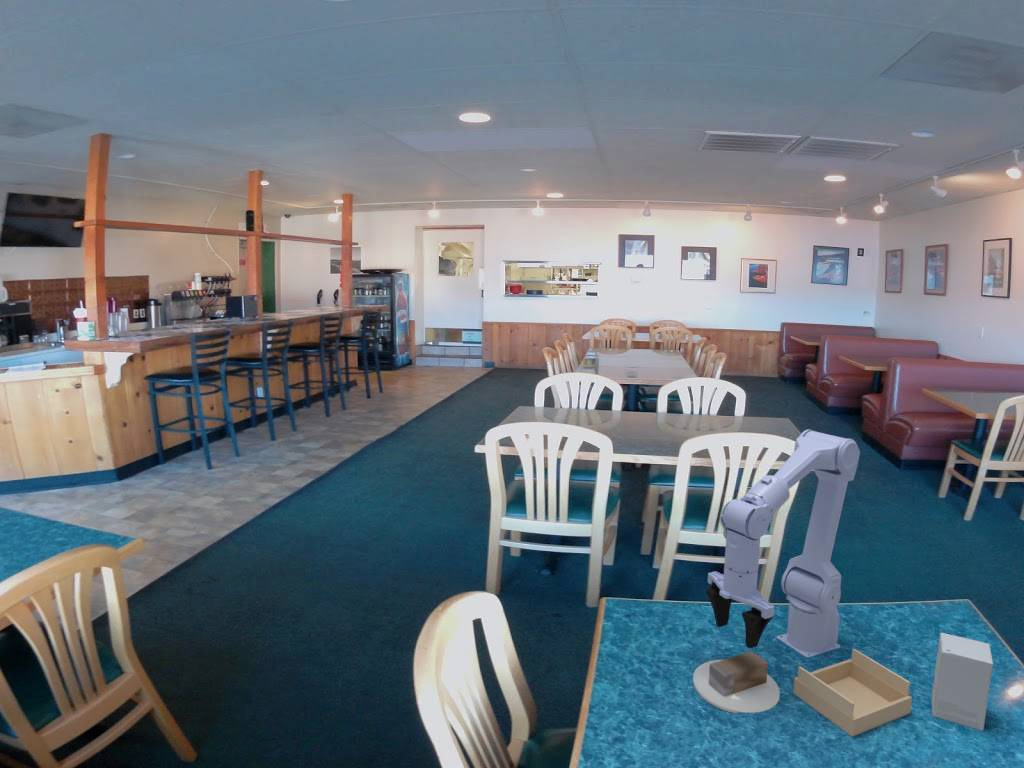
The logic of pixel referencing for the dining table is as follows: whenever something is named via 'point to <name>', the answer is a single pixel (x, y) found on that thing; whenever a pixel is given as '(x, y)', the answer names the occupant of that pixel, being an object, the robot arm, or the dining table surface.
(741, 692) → the plate
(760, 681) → the brown rectangular block
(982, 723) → the supplement box
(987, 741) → the dining table surface
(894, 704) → the wooden tray
